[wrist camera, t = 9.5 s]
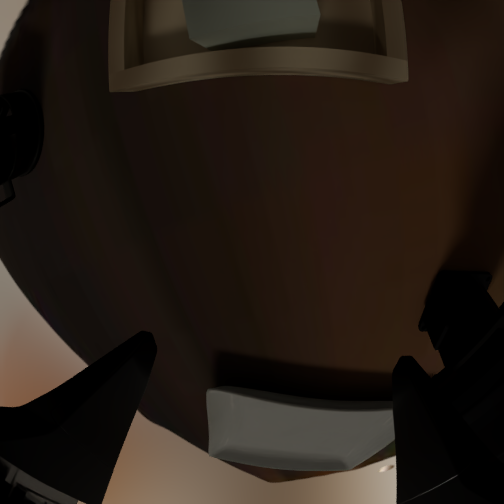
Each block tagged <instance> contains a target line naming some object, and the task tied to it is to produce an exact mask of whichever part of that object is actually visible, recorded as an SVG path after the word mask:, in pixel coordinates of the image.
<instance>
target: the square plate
mask: <svg viewBox="0 0 504 504" xmlns="http://www.w3.org/2000/svg"><path fill="white" fill-rule="evenodd" d="M206 401H207V414H208V426H209V456H212V457H214V458H219V459H223V460H228V461H233V462H238V463H243V464H248V465H254V466H260V467H267V468H275V469H285V470H301V471H336V470H349V469H352V468H353V467H355V466H357V465H358V464H360V463H361V462H363V461H365V460H366V459H368V458H369V457H371V456H372V455H374V454H375V453H377V452H378V451H380V450H381V449H383V448H384V447H385V446H387V445H388V444H389V443H391V442H392V441H393V440H394V439H395V433H394V421H393V401H340V400H326V399H316V398H307V397H300V396H292V395H286V394H280V393H274V392H268V391H262V390H255V389H249V388H242V387H235V386H220V387H216V388H209V389H208V390H207V393H206Z"/></svg>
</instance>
